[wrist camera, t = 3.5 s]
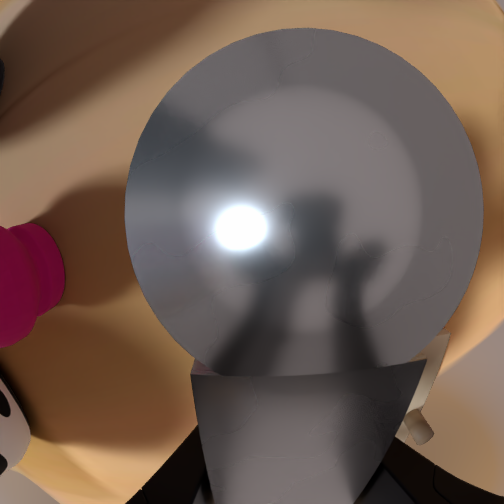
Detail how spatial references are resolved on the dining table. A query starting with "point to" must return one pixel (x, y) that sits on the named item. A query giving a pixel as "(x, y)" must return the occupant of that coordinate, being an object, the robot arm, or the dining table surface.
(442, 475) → the robot arm
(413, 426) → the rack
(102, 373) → the dining table surface
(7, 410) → the milk container
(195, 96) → the round-headed grey paddle
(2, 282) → the pepper mill
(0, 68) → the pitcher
